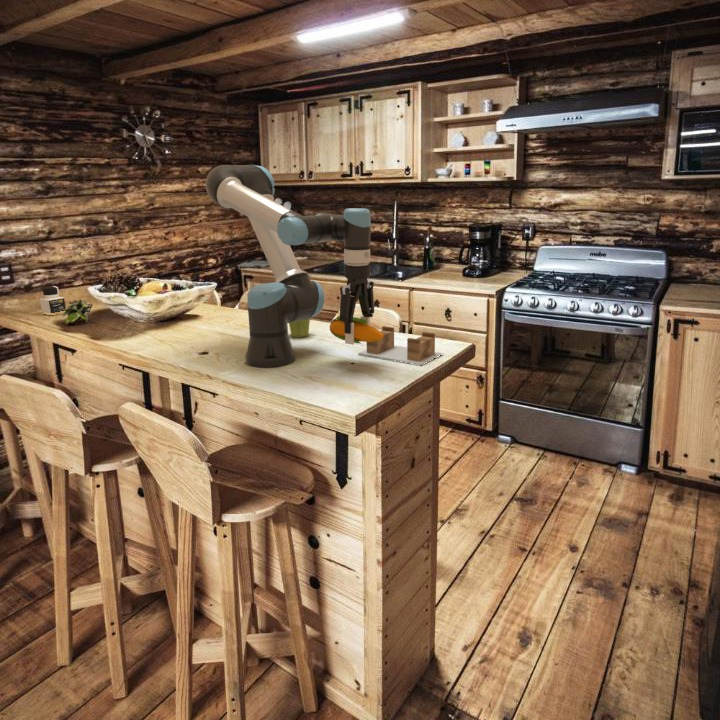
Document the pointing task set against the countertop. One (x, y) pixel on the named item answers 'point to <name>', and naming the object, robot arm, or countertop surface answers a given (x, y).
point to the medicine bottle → (52, 300)
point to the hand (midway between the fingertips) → (357, 340)
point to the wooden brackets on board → (415, 347)
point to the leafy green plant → (77, 311)
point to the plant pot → (300, 328)
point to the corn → (356, 331)
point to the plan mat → (399, 355)
